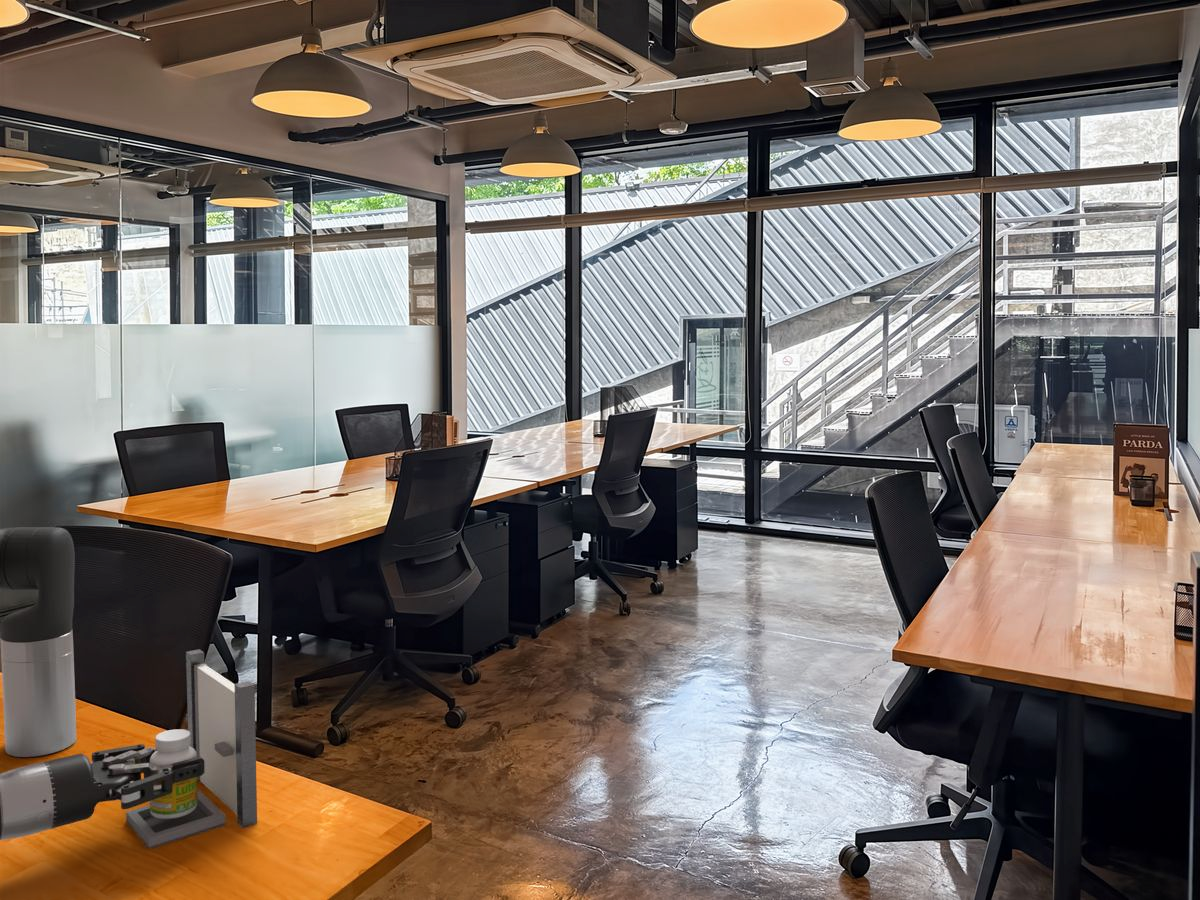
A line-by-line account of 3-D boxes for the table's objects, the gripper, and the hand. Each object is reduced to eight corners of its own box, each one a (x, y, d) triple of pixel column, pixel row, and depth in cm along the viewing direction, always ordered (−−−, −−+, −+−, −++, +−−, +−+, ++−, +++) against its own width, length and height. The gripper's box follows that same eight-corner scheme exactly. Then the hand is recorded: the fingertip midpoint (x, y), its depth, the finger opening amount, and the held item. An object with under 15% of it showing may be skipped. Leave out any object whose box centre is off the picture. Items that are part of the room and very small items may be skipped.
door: (185, 780, 127) (182, 667, 126) (207, 774, 129) (204, 662, 128) (226, 820, 116) (224, 696, 115) (249, 813, 118) (247, 691, 117)
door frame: (189, 777, 130) (185, 651, 128) (202, 773, 131) (199, 649, 129) (243, 828, 116) (240, 687, 114) (257, 823, 117) (254, 684, 115)
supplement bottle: (179, 822, 113) (178, 745, 112) (140, 817, 114) (139, 740, 113) (206, 803, 118) (205, 729, 117) (169, 798, 119) (168, 724, 119)
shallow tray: (126, 821, 117) (126, 811, 117) (199, 799, 123) (199, 790, 123) (149, 849, 110) (148, 838, 110) (225, 824, 116) (225, 815, 116)
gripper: (57, 785, 100) (215, 746, 112) (27, 745, 111) (175, 713, 122) (59, 852, 101) (216, 806, 112) (29, 805, 112) (176, 768, 123)
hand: (194, 757), depth 117 cm, fingers closed on supplement bottle, 5 cm apart
